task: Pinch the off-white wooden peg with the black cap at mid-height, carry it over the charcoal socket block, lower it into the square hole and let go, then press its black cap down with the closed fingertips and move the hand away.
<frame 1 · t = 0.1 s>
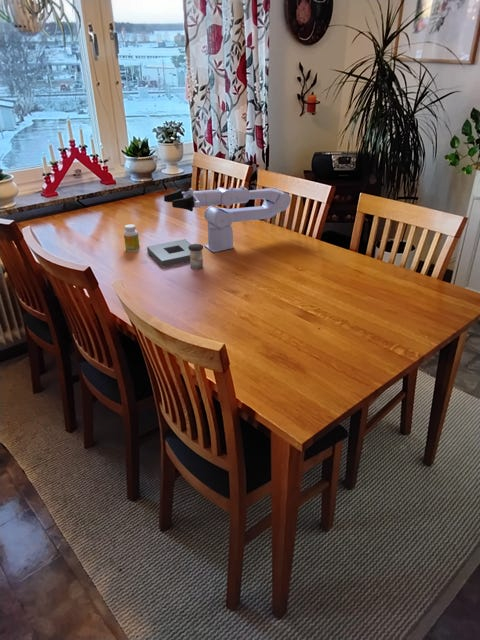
hand: (168, 201, 172), 22 cm above the table, tool horizontal, fingers open, 7 cm apart
socket block: (174, 255, 184), on the table
supplement bottle: (132, 249, 190), on the table
capped peg: (196, 267, 175), on the table
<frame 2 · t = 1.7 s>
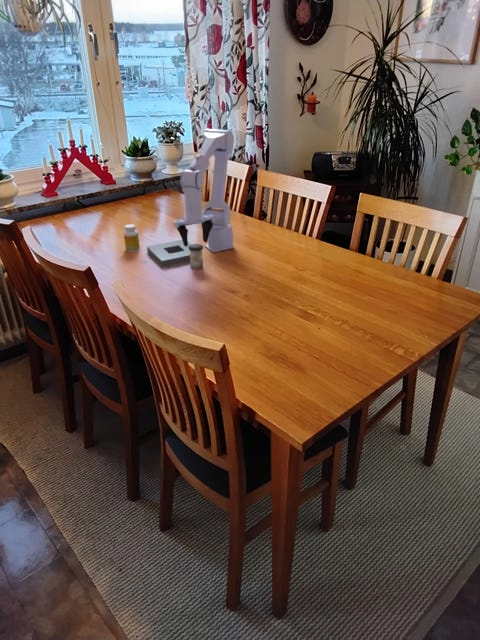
hand: (195, 243, 170), 9 cm above the table, tool pointing down, fingers open, 7 cm apart
nothing on the table moved.
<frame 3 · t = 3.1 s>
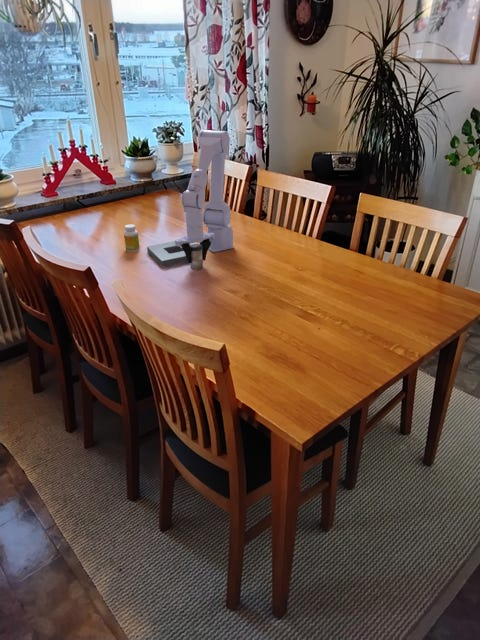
hand: (196, 260, 173), 2 cm above the table, tool pointing down, fingers closed on capped peg, 5 cm apart
capped peg: (196, 267, 175), on the table, touching gripper
everything else where it was.
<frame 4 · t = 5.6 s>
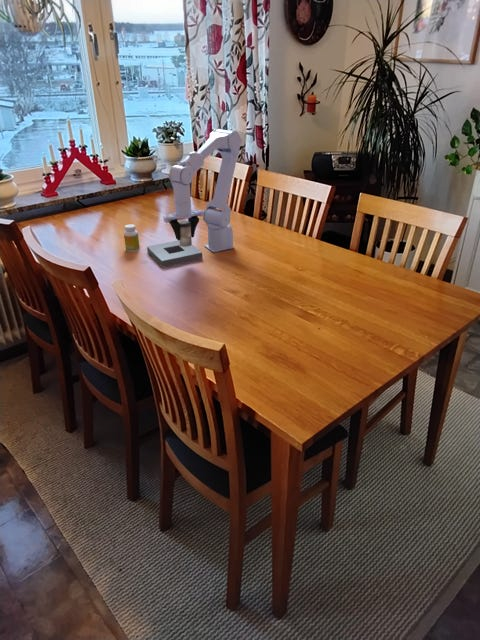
hand: (185, 237, 174), 9 cm above the table, tool pointing down, fingers closed on capped peg, 5 cm apart
capped peg: (185, 244, 175), point 7 cm above the table, touching gripper
everything else where it was.
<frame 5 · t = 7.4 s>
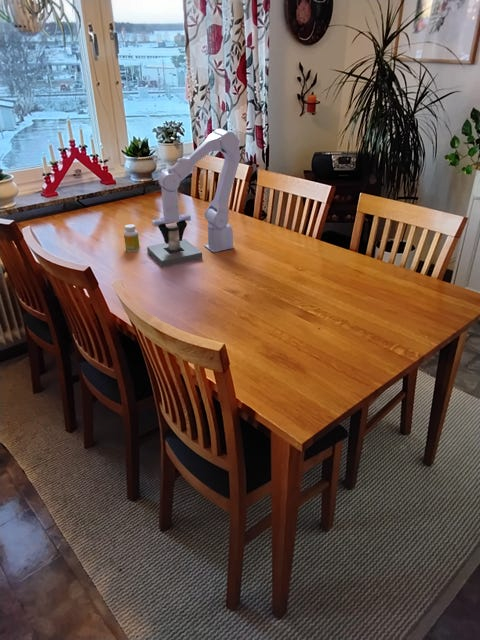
hand: (173, 241, 181), 6 cm above the table, tool pointing down, fingers closed on capped peg, 5 cm apart
capped peg: (174, 248, 182), point 3 cm above the table, touching gripper
everything else where it was.
when the fingers open (3 cm above the table, at t = 8.5 s): capped peg stays where it is, resting in socket block.
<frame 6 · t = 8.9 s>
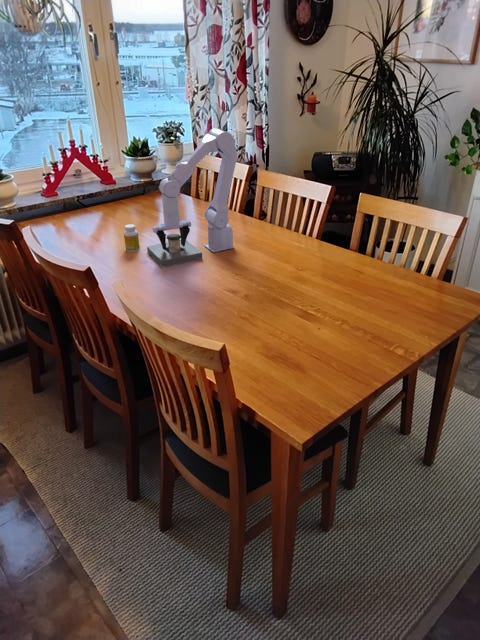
hand: (173, 247, 182), 3 cm above the table, tool pointing down, fingers open, 7 cm apart
capped peg: (175, 256, 184), resting in socket block
everything else where it was.
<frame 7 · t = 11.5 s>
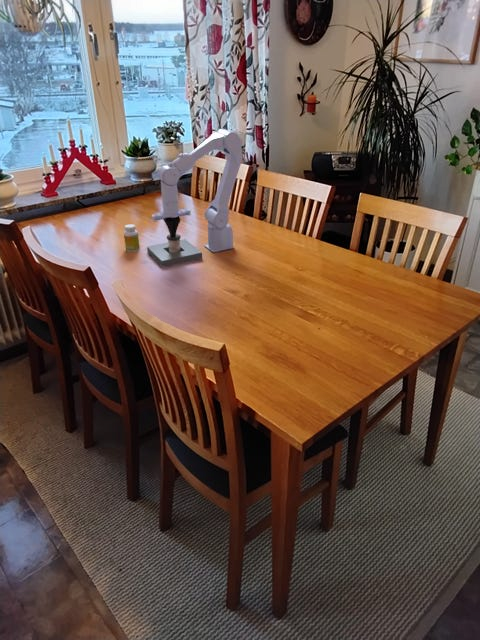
hand: (172, 236, 180), 8 cm above the table, tool pointing down, fingers closed, pressing on capped peg
capped peg: (175, 256, 184), resting in socket block, touching gripper
everything else where it was.
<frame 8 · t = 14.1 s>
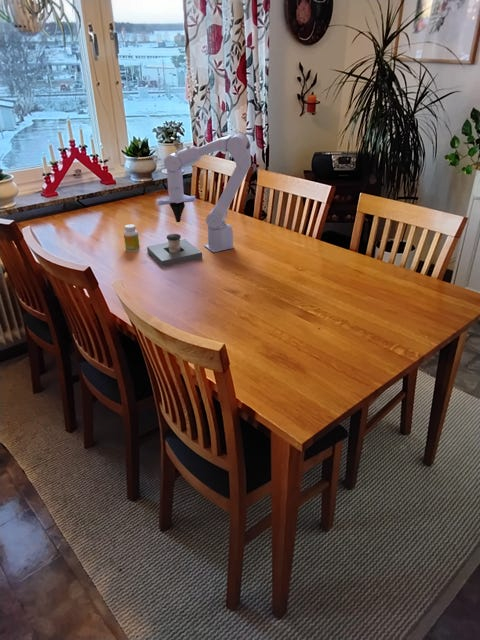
hand: (178, 221, 188), 10 cm above the table, tool pointing down, fingers closed
capped peg: (175, 256, 184), resting in socket block
everything else where it was.
at the end: capped peg 0.5 cm off-centre on the socket block, point 0.0 cm above the socket block's base; capped peg tilted 0°; the gripper is holding nothing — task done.
